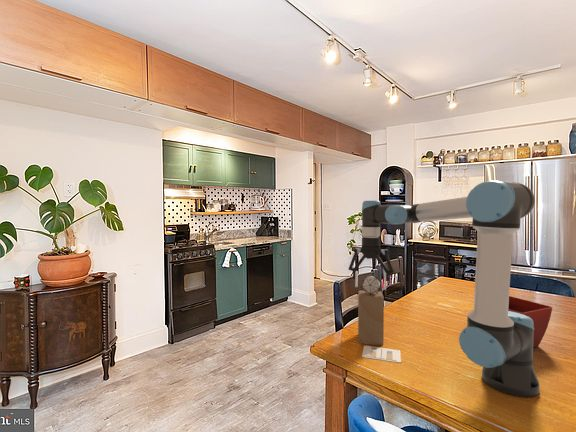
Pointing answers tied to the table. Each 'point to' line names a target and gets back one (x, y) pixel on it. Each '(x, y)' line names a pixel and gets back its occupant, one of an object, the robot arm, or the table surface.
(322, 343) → the table surface
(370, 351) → the page
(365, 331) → the wooden block
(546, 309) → the plant pot
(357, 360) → the table surface
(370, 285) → the game die
